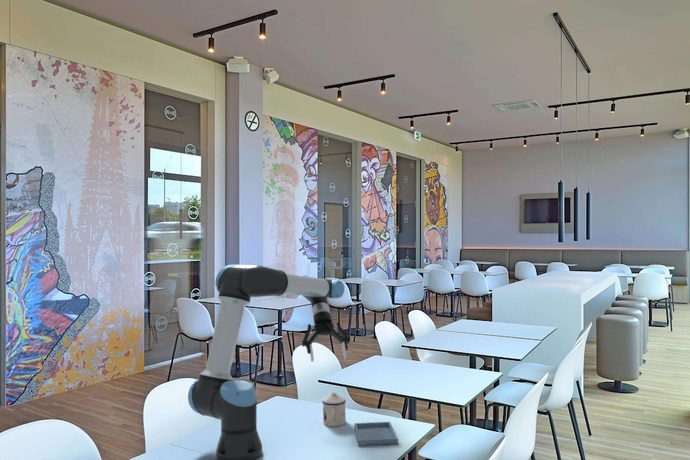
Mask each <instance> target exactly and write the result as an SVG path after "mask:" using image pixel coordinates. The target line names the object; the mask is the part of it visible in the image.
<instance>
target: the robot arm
mask: <svg viewBox="0 0 690 460" xmlns="http://www.w3.org/2000/svg"><path fill="white" fill-rule="evenodd" d="M214 284H215V288H216V290H217V292H218V297H217V298H218V300H219V301H220V305H219V311H218V314H217V320H216V323H215V327H214V332H213V336H212V340H211V344H210V349H209V352H208V358H207V361H206V367H205V368H204V370H203V371H201V372H200V373H199V377H198V378H197V379H196V380H195V381H194V382H193V383H192V384H191V385H190V388H189V390H188V393H187V400H188V404H189V405H188V406H189V407H190V408H191V409H192V411H193V412H195V413H197V414H199V415H201V416H206V417H210V418H213V419H217V420H220V436H219V439H218V443H217V446H216V450H215V455H216V456H215V457H216V459H217V460H257V459H258V458H260V457H261V456H262V454H263V444H262V441H261V438H260V435H259V432H258V427H257V424H258V423H257V401H258V400H257V392H256V391H257V389H256V387H255V386H254V385H253V384H252V383H251V382H250V381H245V380H241V379H240V380H237V379H234V378H233V377H232V375H231V369H232V365H233V360H234V355H235V350H236V346H237V341H238V337H239V333H240V328H241V324H242V319H243V316H244V311H245V308H246V306H248V305H250V304H251V303H250V302H251V300H252V299H251V298H259V297H261V298H262V297H273V296H274V297H281V296H283V295H291V296H292V295H293V296H302V297H304V299H306V300H307V301H308V302H310V305H311V310H312V317H313V323H314V324H313V325H312V324H310V323H309V324H307V330H306V332H305V335H304V337H303V339H302V341H301V346H302V347H303V348H304V347H305V348H306V352H307V354H308V355H309V356H310V362H312V363H313V362H314V360H315V359H314V358H315V357H314V350H313V346H312V344H313V343H314V342H315V340H316V339H317V338H318V337H319V336H328V335H330V336H331V337H334V338H335V339H336V340H337V341H338V342H339V343H341V348H342V349H341V350H342V354H343V358H344V359H343V360H347V357H348V354H347V351H348V350H349V349H348V348H349V347H348V344H350V343H351V337H350V336H349V335H348V333H347V332H346V331H345V330H344V329H343V327H342V326H341V323H340V322H336V323H335V324H333V322H332V321H333V320H332V316H331V312H330V311H331V310H330V305H329V299H340V298H342V297H343V295H344V293H345V284H344V283H343V281H342V280H339V279H326V278H320V277H314V276H312V277H311V276H308V275H305V274H301V275H299V274H298V275H297V274H290V273H286V272H285V271H284V270H281V269H275V268H271V267H267V266H265V265H264V266H263V265H257V264H237V263H235V264H229V265H226V266H224V267H222V268H221V269H220V270H219V271H218V273H217V276H216V278H215V283H214ZM313 330H314V333H313V334H312V335H311V337H310V338H309V336H310V334H311V332H312V331H313ZM336 330H337V331H336Z"/></svg>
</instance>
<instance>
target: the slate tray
mask: <svg viewBox="0 0 690 460" xmlns="http://www.w3.org/2000/svg"><path fill="white" fill-rule="evenodd" d="M353 427H354V428H353V429H354V433H355V438H356V442H357V445H358V447H374V446H393V445H398V444H399V443H398V442H399V441H398V440H399V438H398V437H397V434H396V431H395V430H394V428H393V425H392V423H391V421H379V422H378V421H377V422H357V423H353Z"/></svg>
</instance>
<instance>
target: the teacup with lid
mask: <svg viewBox="0 0 690 460" xmlns="http://www.w3.org/2000/svg"><path fill="white" fill-rule="evenodd" d="M346 401H347V400H346V398H345V397H344V396H341V395H339V394H337V392H335V391H333V392H331V394H330V395H329V396H325V397H324V398H322V412H323V419H322V422H323V424H324V426H326V427H327V426H328V427H340V426H343V425H345V424H346V421H347V420H346V418H347V417H346Z"/></svg>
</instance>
